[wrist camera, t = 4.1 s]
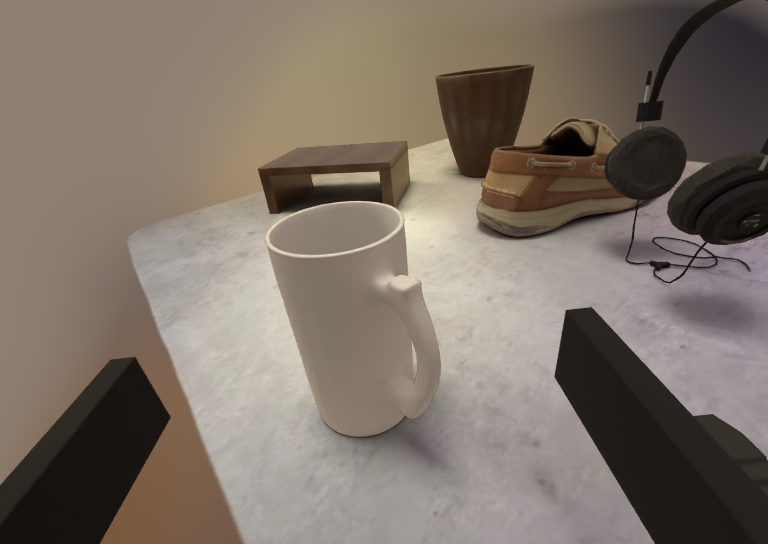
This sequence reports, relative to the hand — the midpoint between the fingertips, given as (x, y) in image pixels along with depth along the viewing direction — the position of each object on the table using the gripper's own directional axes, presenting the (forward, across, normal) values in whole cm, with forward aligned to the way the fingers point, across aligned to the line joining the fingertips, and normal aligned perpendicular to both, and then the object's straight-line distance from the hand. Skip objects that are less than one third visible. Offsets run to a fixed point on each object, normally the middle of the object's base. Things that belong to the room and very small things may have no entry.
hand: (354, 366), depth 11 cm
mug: (+7, 0, -10) cm, 13 cm away
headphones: (+18, +27, -11) cm, 34 cm away
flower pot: (+56, +19, -10) cm, 61 cm away
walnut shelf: (+51, -5, -10) cm, 52 cm away
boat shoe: (+36, +26, -10) cm, 46 cm away
